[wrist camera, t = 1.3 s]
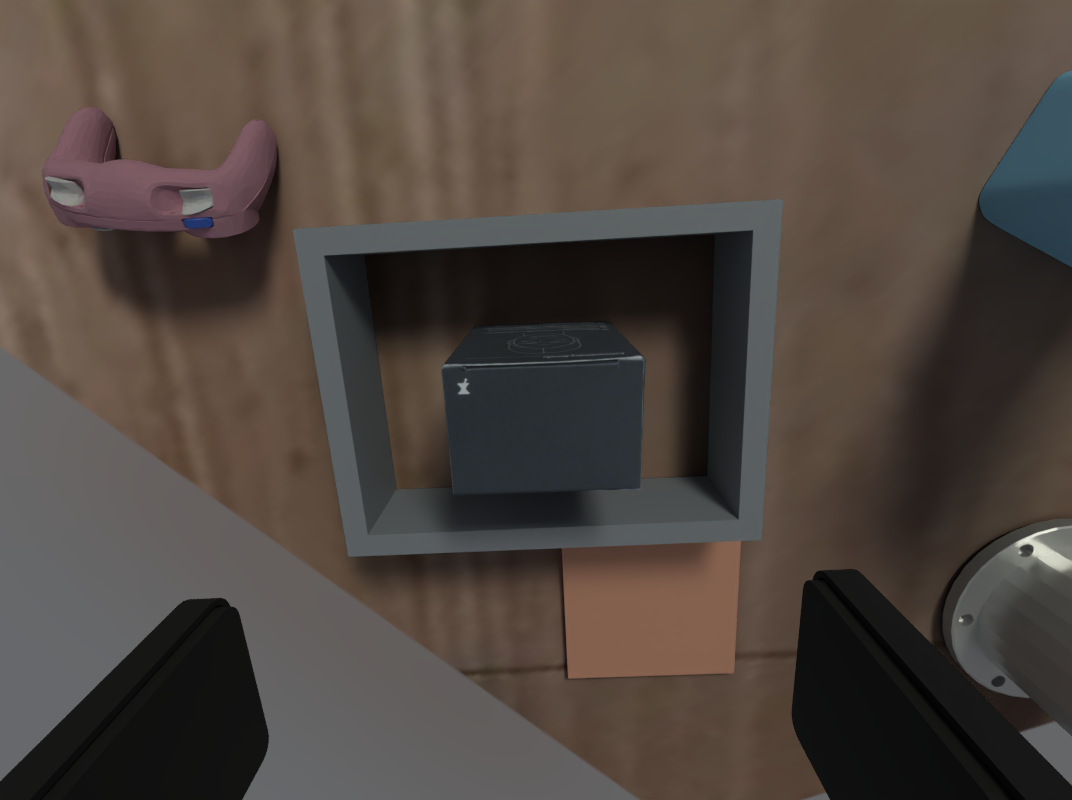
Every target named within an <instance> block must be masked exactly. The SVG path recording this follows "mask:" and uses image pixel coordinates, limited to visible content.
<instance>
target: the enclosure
mask: <svg viewBox="0 0 1072 800" xmlns="http://www.w3.org/2000/svg"><path fill="white" fill-rule="evenodd" d="M782 209H783V199H779V200H762V201H746V202H729V203H713V204H696V205H680V206H664V207H647V208H631V209H614V210H598V211H581V212H565V213H548V214H532V215H516V216H499V217H483V218H466V219H450V220H433V221H417V222H400V223H384V224H367V225H351V226H335V227H318V228H302V229H293V234H294V240H295V246H296V252H297V258H298V263H299V269H300V275H301V281H302V287H303V293H304V299H305V305H306V311H307V316H308V322H309V328H310V334H311V340H312V346H313V352H314V358H315V363H316V369H317V375H318V381H319V387H320V393H321V399H322V405H323V410H324V416H325V422H326V428H327V434H328V440H329V446H330V452H331V457H332V463H333V469H334V475H335V481H336V487H337V493H338V499H339V505H340V510H341V516H342V522H343V528H344V534H345V540H346V546H347V552H348V557H356V556H381V555H406V554H430V553H455V552H479V551H504V550H529V549H553V548H578V547H602V546H627V545H652V544H676V543H701V542H725V541H750V540H761V539H762V524H763V508H764V492H765V477H766V461H767V445H768V429H769V414H770V398H771V382H772V366H773V351H774V335H775V319H776V303H777V288H778V272H779V256H780V240H781V225H782ZM708 234H715V244H714V276H713V307H712V339H711V370H710V401H709V433H708V464H707V476H692V477H669V478H647V479H641V489H639V490H604V491H571V492H541V493H509V494H481V495H454V494H453V491H452V487H445V488H422V489H400V490H396V483H395V475H394V468H393V461H392V454H391V446H390V439H389V432H388V425H387V417H386V410H385V403H384V395H383V388H382V381H381V374H380V366H379V359H378V352H377V345H376V337H375V330H374V323H373V316H372V308H371V301H370V294H369V286H368V279H367V272H366V265H365V257H364V255H369V254H386V253H403V252H420V251H437V250H454V249H471V248H488V247H505V246H522V245H539V244H556V243H573V242H590V241H607V240H624V239H640V238H657V237H674V236H691V235H708Z"/></svg>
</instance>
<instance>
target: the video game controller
mask: <svg viewBox="0 0 1072 800" xmlns="http://www.w3.org/2000/svg"><path fill="white" fill-rule="evenodd" d="M115 156H116V135H115V130H114V128H113V123H112V121H111V120H110V119H109V118H108V116H107V115H106V114H105V113H104V112H103V111H101V110H99V109H97V108H92V107H86V108H81V109H79V110H78V111H76V112H75V113H73V114H72V115H71V117H70V118H69V120H68V121H67V123H66V125H65V127H64V129H63V131H62V133H61V136H60V138H59V140H58V143H57V145H56V147H55V149H54V151H53V152H52V154H51V155H50V157H49V158H48V159H47V161H46V162H45V164H44V167H43V169H42V175H43V185H44V190H45V194H46V197H47V200H48V202H49V204H50V206H51V208H52V209H53V211H54V213H55V215H56V216H57V218H58V220H59V221H60V222H61V223H62V224H64V225H66V226H71V227H92V228H93V229H94V230H97V231H111V230H114V229H118V230H127V231H148V232H172V231H185V232H186V233H188V234H190V235H193V236H196V237H201V238H222V237H229V236H233V235H237V234H241V233H243V232H246V231H248V230H250V229H251V228H253V227H254V226H255V225H256V224H257V223H258V222H259V220H260V218H259V212H258V211H259V209H260V208H261V206H262V204H263V202H264V200H265V197H266V195H267V193H268V190H269V188H270V185H271V183H272V179H273V176H274V173H275V169H276V163H277V143H276V137H275V135H274V133H273V131H272V130H271V128H270V127H269V126H268V124H267V123H266V122H264V121H262V120H258V119H253V120H251V121H250V122H249V123H247V124H246V125H245V126H244V127H243V128H242V130H241V132H240V133H239V136H238V138H237V140H236V142H235V144H234V146H233V148H232V150H231V152H230V154H229V155H228V157H227V158H226V160H225V161H224V162H223V164H222V165H221V166H220V167H219V168H216V169H214V170H197V169H177V168H163V167H160V166H157V165H153V164H149V163H145V162H141V161H137V160H127V159H120V160H115Z"/></svg>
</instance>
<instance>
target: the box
mask: <svg viewBox="0 0 1072 800" xmlns="http://www.w3.org/2000/svg"><path fill="white" fill-rule="evenodd" d="M441 373H442V381H443V390H444V400H445V411H446V421H447V434H448V445H449V456H450V466H451V479H452V491H453V494H454V495H481V494H509V493H541V492H571V491H604V490H639V489H641V467H642V435H643V406H644V381H645V358H644V356H642V355H641V354H640V352H639V351H638V350H637V349H635V348H634V347H633V345H632V344H630V343H629V342H628V340H627V339H626V338H625V337H624V336H623V335H622V334H621V333H620V332H619V331H618V330H617V329H616V328H615V327H614V326H613V325H612V324H611V323H610V322H608V321H590V322H561V323H530V324H504V325H480V326H474V328H473V329H472V330H471V331H470V333H469V334H468V335H467V336H466V338H465V339H464V340H463V341H462V343H461V344H460V345H459V346H458V347H457V349H456V350H455V351H454V352H453V353H452V355H451V356H450V357H449V358H448V360H447V361H446V363H445V364H444V365H442V372H441Z"/></svg>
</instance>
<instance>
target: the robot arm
mask: <svg viewBox="0 0 1072 800" xmlns="http://www.w3.org/2000/svg"><path fill="white" fill-rule="evenodd" d="M942 631H943V635H944V639H945V643H946V646H947V648H948V650H949V652H950V653H951V655H952V657H953V659H954V660H955V661H956V662H957V663H958V664H959V665H960V666H961V667H962V668H963V670H964V671H965V672H966V673H967V674H969V675H970V676H971V677H972V678H973V679H974V680H976V681H977V682H978V683H979V684H981V685H983V686H984V687H986V688H988V689H990V690H992V691H995V692H998V693H1002V694H1005V695H1008V696H1015V697H1023V698H1031V699H1032V700H1033V701H1034V702H1035V703H1036V704H1037V705H1039V706H1040V707H1041V708H1042V709H1043V710H1044V711H1045V712H1046V713H1047V714H1048V715H1049V716H1051V717H1052V718H1053V719H1054V720H1055V721H1056V722H1057V723H1058V724H1059V725H1060V726H1061V727H1062V728H1064V729H1065V730H1066V731H1067V732H1068V733H1069V734H1070V735H1071V736H1072V518H1070V519H1053V520H1048V521H1043V522H1038V523H1033V524H1031V525H1028V526H1025V527H1022V528H1020V529H1017V530H1014V531H1012V532H1010V533H1008V534H1007V535H1005V536H1003V537H1001V538H999V539H997V540H995V541H994V542H993V543H991V544H990V545H989V546H987V547H986V548H985V549H983V550H982V551H980V552H979V553H978V554H977V555H976V556H975V557H974V558H973V559H972V560H971V561H970V562H969V563H968V564H967V565H966V566H965V567H964V569H963V570H962V571H961V573H960V574H959V576H958V577H957V579H956V580H955V581H954V583H953V585H952V587H951V590H950V592H949V594H948V596H947V598H946V602H945V606H944V611H943V628H942ZM792 721H793V725H794V729H795V732H796V735H797V737H798V739H799V741H800V743H801V745H802V747H803V749H804V751H805V753H806V755H807V757H808V759H809V760H810V762H811V764H812V766H813V768H814V770H815V772H816V774H817V776H818V777H819V779H820V781H821V783H822V785H823V787H824V789H825V791H826V793H827V794H828V796H829V798H830V800H1072V786H1071V784H1070V783H1069V782H1068V781H1067V780H1066V779H1065V778H1063V776H1062V775H1061V774H1060V773H1059V772H1058V771H1057V770H1056V769H1055V768H1054V767H1053V766H1052V765H1051V764H1050V763H1049V762H1048V761H1047V760H1046V759H1045V758H1044V757H1043V756H1042V755H1041V754H1040V753H1039V752H1038V751H1037V750H1036V749H1035V748H1034V747H1033V746H1032V745H1031V744H1030V743H1029V742H1028V741H1027V740H1026V739H1025V738H1024V737H1023V736H1022V735H1021V734H1020V733H1019V732H1018V731H1017V730H1016V729H1015V728H1014V727H1013V726H1012V725H1011V724H1010V723H1009V722H1008V721H1007V720H1006V719H1005V718H1004V717H1003V716H1002V715H1001V714H1000V713H999V712H998V711H997V710H996V709H995V708H994V707H993V706H992V705H991V704H990V703H989V702H988V701H987V700H986V699H985V698H984V697H983V696H982V695H981V694H980V693H979V692H978V691H977V690H976V689H975V688H974V686H973V685H972V684H971V683H970V682H969V681H968V680H967V679H966V678H965V677H964V676H963V675H962V674H961V673H960V672H959V671H958V670H957V669H956V668H955V667H954V666H953V665H952V664H951V663H950V662H949V661H948V660H947V659H946V658H945V657H944V656H943V655H942V654H941V653H940V652H939V651H938V650H937V649H936V648H935V647H934V646H933V645H932V644H931V643H930V642H929V641H928V640H927V639H926V638H925V637H924V636H923V635H922V634H921V633H920V632H919V631H918V630H917V629H916V628H915V627H914V626H913V625H912V624H911V623H910V622H909V621H908V620H907V619H906V618H905V617H904V616H903V615H902V614H901V613H900V612H899V611H898V610H897V609H896V608H895V607H894V606H893V605H892V604H891V603H890V602H889V601H888V600H887V599H886V598H885V597H884V596H883V595H882V594H881V593H880V592H879V591H878V590H877V589H876V588H875V587H874V586H873V585H872V584H871V583H870V582H869V581H868V580H867V579H866V578H865V577H864V575H863V574H861V573H860V572H859V571H857V570H854V569H845V570H823V571H818V572H816V573H815V575H814V577H813V580H809V581H806V582H805V584H804V587H803V596H802V606H801V617H800V628H799V639H798V649H797V660H796V671H795V681H794V692H793V703H792ZM268 739H269V735H268V729H267V725H266V721H265V717H264V713H263V709H262V704H261V700H260V696H259V692H258V688H257V684H256V681H255V677H254V672H253V668H252V664H251V660H250V656H249V651H248V647H247V643H246V640H245V635H244V631H243V627H242V623H241V619H240V615H239V612H238V610H237V609H236V608H235V607H230V605H229V603H228V602H227V601H226V600H225V599H223V598H211V599H189V600H186V601H183V602H182V603H181V604H179V605H178V606H177V607H176V608H175V609H174V610H173V611H172V612H171V613H170V614H169V615H168V616H167V617H166V618H165V619H164V620H163V621H162V622H161V623H160V624H159V625H158V626H157V627H156V628H155V629H154V630H153V631H152V632H151V633H150V634H149V635H148V636H147V637H146V638H145V639H144V640H143V641H142V642H141V643H140V644H139V645H138V646H137V647H136V648H135V649H134V650H133V651H132V652H131V653H130V654H129V655H128V656H127V657H126V658H125V659H124V660H123V661H121V662H120V663H119V664H118V666H116V667H115V668H114V669H113V670H112V671H111V672H110V673H109V674H108V675H107V676H106V677H105V678H104V679H103V680H102V681H101V682H100V683H99V684H98V685H97V686H96V687H95V688H94V689H93V690H92V691H91V692H90V693H89V694H88V695H87V696H86V697H85V698H84V699H83V700H82V701H81V702H80V703H79V704H78V705H77V706H76V707H75V708H74V709H73V710H72V711H71V712H70V713H69V714H68V715H67V716H66V717H65V718H64V719H63V720H62V721H61V722H60V723H59V724H58V725H57V726H56V727H55V728H54V729H53V730H52V731H51V732H50V733H49V734H48V735H47V736H46V737H45V738H44V739H43V740H42V741H41V742H40V743H39V744H38V745H37V746H36V747H35V748H34V749H33V750H32V751H31V752H30V753H29V754H28V755H27V756H26V757H25V758H24V759H23V760H22V761H20V762H19V763H18V764H17V766H15V767H14V768H13V769H12V770H11V771H10V772H9V773H8V774H7V775H6V776H5V777H4V778H3V780H2V781H0V800H242V799H243V797H244V795H245V793H246V792H247V790H248V788H249V786H250V784H251V782H252V780H253V779H254V777H255V775H256V773H257V771H258V769H259V767H260V766H261V764H262V762H263V760H264V757H265V755H266V752H267V748H268V742H269V741H268Z"/></svg>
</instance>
